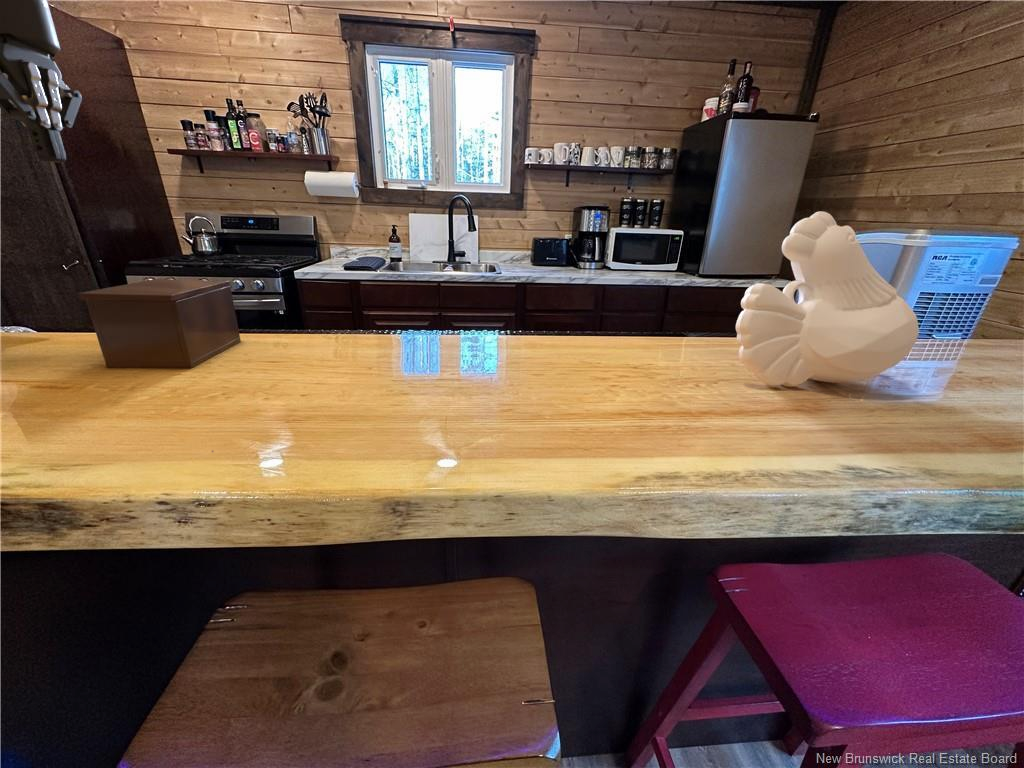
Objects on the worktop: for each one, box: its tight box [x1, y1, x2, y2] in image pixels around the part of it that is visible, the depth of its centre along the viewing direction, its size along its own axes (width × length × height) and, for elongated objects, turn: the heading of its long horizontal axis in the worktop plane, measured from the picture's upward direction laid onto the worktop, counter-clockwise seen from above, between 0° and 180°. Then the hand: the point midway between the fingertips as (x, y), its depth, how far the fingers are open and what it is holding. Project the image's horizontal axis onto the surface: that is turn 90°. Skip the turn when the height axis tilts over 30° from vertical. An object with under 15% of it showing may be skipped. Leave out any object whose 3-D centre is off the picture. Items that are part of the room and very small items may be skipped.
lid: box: [78, 278, 231, 301], centre depth 66 cm, size 15×12×1 cm
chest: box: [85, 285, 242, 369], centre depth 68 cm, size 15×12×10 cm
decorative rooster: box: [735, 210, 920, 388], centre depth 67 cm, size 25×16×25 cm
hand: (53, 161), depth 57 cm, fingers closed
